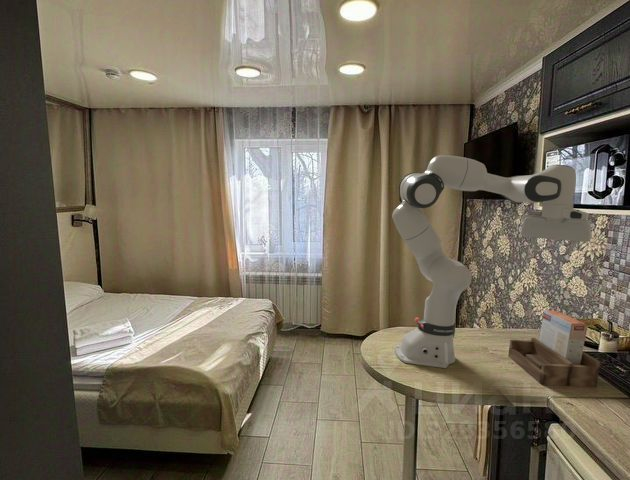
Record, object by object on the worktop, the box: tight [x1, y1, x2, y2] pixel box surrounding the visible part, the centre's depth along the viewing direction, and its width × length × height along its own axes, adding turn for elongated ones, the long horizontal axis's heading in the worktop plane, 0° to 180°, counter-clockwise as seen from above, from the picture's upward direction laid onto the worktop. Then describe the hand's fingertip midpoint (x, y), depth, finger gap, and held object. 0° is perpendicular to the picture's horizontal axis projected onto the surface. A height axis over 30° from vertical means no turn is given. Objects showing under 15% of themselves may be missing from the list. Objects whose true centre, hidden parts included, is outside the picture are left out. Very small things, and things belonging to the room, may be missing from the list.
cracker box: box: [538, 309, 588, 365], centre depth 123 cm, size 14×6×21 cm, turn 0°
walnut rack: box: [507, 337, 601, 388], centre depth 122 cm, size 18×20×10 cm
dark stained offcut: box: [526, 354, 550, 369], centre depth 122 cm, size 4×8×2 cm, turn 0°
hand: (552, 251), depth 121 cm, fingers open, 8 cm apart
